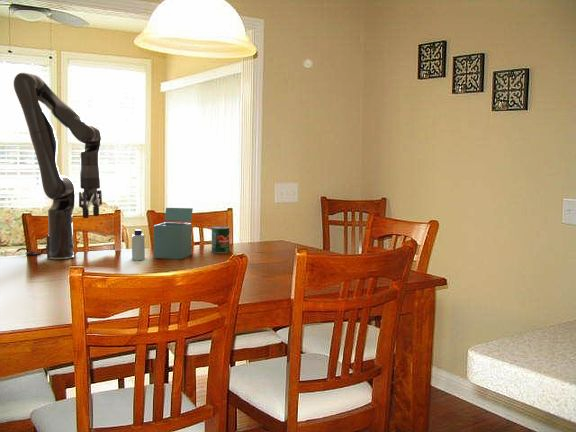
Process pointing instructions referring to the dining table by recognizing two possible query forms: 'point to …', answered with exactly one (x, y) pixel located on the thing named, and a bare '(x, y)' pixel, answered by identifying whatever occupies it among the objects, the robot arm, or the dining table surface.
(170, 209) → the flap
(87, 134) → the robot arm
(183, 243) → the carton
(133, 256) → the bottle
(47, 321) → the dining table surface
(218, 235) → the canned tomato
